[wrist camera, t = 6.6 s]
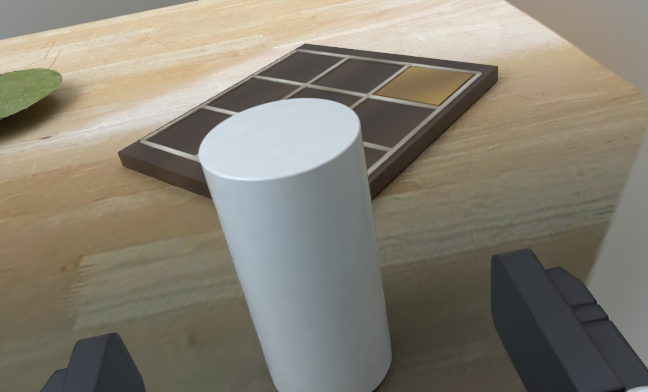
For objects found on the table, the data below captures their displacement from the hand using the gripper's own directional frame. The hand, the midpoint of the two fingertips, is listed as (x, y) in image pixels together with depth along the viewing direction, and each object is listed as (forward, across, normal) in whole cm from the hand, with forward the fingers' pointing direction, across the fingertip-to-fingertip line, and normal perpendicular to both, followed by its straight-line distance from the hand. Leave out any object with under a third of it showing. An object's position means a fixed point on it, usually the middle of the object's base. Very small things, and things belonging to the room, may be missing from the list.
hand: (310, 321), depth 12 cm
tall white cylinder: (+5, 0, +7) cm, 9 cm away
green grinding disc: (+35, +22, +7) cm, 42 cm away
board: (+23, -2, +7) cm, 24 cm away
